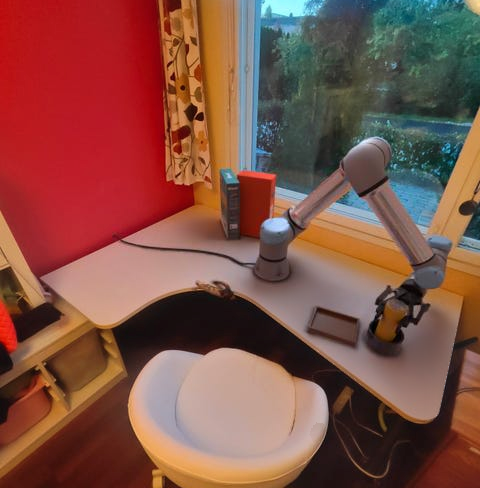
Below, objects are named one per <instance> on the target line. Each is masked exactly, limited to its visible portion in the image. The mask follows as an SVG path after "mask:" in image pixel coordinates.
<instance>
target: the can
mask: <svg viewBox="0 0 480 488" xmlns="http://www.w3.org/2000/svg"><path fill="white" fill-rule="evenodd" d="M407 310H408V307H407V305H406V304H405V303H403V302H402V301H400V300H397V299H390V300H388V301H387V303H386V306H385V308H384V311H383V313H382V315H381V316H380V318H379V319H380V321H379V324H378V326H377V329H376V331H375V334H374V335H375V336H376V337H377V338H379V339H380V340H382V341H385V342H388V343H392V342H393V340H394V338H395V336H396V334H395V333H394V332H395V330H396V328H397V326H398V325H399V323H400V322H401V320H402V319H403V318H404V316H405V315H407Z"/></svg>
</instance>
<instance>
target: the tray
mask: <svg viewBox="0 0 480 488" xmlns="http://www.w3.org/2000/svg"><path fill="white" fill-rule="evenodd" d="M359 326H360V318H359V317H356V316H352V315H349V314H346V313H343V312H339V311H336V310H333V309H329V308H326V307H324V306H319V305H315V307H314V310H313V313H312V315H311V319H310V321H309V325H308V327H307V332H309V333H312V334H314V335H318V336H321V337H323V338H326V339H329V340H332V341H334V342H338V343H341V344H343V345H347V346H350V347H353V348H354V347H355V345H356V343H357V337H358V330H359Z"/></svg>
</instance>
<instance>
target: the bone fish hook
mask: <svg viewBox="0 0 480 488" xmlns="http://www.w3.org/2000/svg"><path fill="white" fill-rule="evenodd" d="M212 282H213V283H214V284H219V285H221V286H222V287H224V289H221V288H220V287H218V286H215V285H213V284H210V283H207V282H204V281H201V280H198V279H197V280H196V281H195V285H196V286H197V287H198V288H199V289H201V290H202V291H203V292H206V293H209V294H211V295H213V296H216V297H219V298H221V299H225V300H229V301H234V300H236V297H235V294H234V293H235V292H234V291H233V290H232V289H231V286H230V285H229V284H228V283H227V282H225V281H223V280H214V281H212Z"/></svg>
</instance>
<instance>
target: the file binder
mask: <svg viewBox="0 0 480 488" xmlns="http://www.w3.org/2000/svg"><path fill="white" fill-rule="evenodd" d="M236 178H237V179H238V181H239V183H240V193H239V235H243V236H244V235H245V236H250V237H254V238H259V239H260V230H261V225H262V223H263V222H264V221H266V220H267V219H270V218H271V219H272V218H274V215H275V214H274V213H275V211H274V210H275V201H276V200H275V199H276V187H277V186H276V184H277V174H274V173H268V172H261V171H251V170H245V169H244V170H241V171H239V172H238V173H237V174H236Z"/></svg>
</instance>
